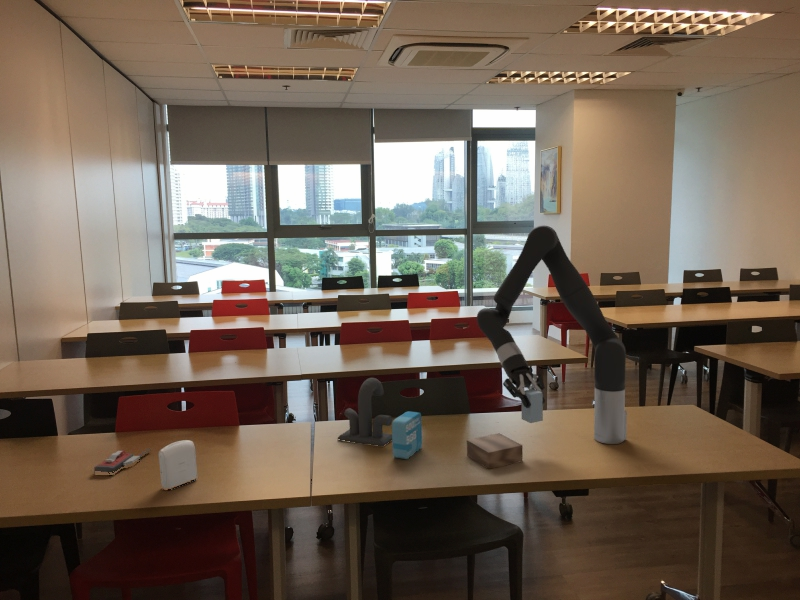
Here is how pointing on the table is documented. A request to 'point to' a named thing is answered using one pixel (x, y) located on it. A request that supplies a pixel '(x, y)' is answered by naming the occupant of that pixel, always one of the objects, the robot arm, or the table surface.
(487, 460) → the walnut base
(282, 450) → the table surface
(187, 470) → the photo printer
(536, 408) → the slate block
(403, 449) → the light blue box
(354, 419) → the faucet
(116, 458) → the walkie-talkie
